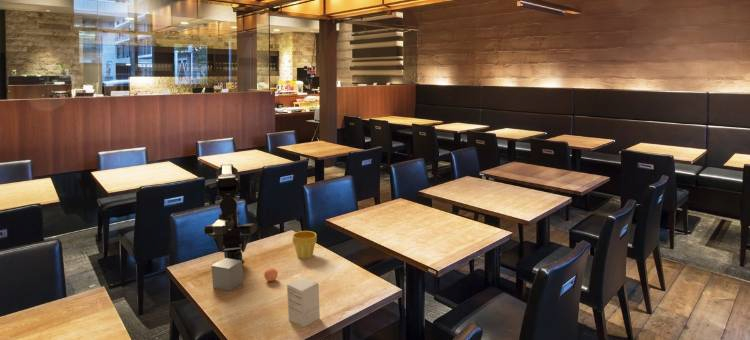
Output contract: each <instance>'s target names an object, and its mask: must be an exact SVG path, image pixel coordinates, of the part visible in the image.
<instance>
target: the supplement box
mask: <svg viewBox="0 0 750 340" xmlns="http://www.w3.org/2000/svg"><path fill="white" fill-rule="evenodd" d="M319 290H320V289H319V282H317V281H315V280H312V279H310V278H307V277H305V276H303V277H301V278H298V279H296V280H294V281H292V282H290V283H287V284H286V291H287V292H286V293H287V294H286V295H287V308H288V309H287V311H288V314H287V315H288V320H289V321H291V322H292V323H293V324H296V325H299V326H300V327H302V328H305V327H307V326H308V325H310V324H312V323H313V322H316V321H317V320H318V319H321V316H320V314H321V313H320V293H319V292H320V291H319Z"/></svg>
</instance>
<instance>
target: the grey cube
mask: <svg viewBox="0 0 750 340" xmlns="http://www.w3.org/2000/svg"><path fill="white" fill-rule="evenodd" d="M243 272H244V271H243V262H242V261H240V260H235V259H229V258H225V257H224V258H222V259H219V261H217V262H215V263H213V264H212V265H211V277H212V279H211V280H212V288H214V289H219V290H223V291H227V292H228V291H229V292H231V291H232V290H234V289H235V288H237V287H239V286H240V285H241V284H243V283H244V275H243V274H244V273H243Z"/></svg>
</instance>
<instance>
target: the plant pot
mask: <svg viewBox="0 0 750 340" xmlns="http://www.w3.org/2000/svg"><path fill="white" fill-rule="evenodd" d="M317 236H318V235H317V233H316V232H314V231H310V230H302V231H301V230H299V231H297V232H294V233H293V234H292V243H293V244H294V248H295V252H296V256H297V259H301V260H306V259H307V258H308V259H310V258H312V257H313V255H314V251H315V245H316V243H317V242H318V241H317V240H318V239H317V238H318V237H317Z"/></svg>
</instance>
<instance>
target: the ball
mask: <svg viewBox="0 0 750 340" xmlns="http://www.w3.org/2000/svg"><path fill="white" fill-rule="evenodd" d="M263 275H264V279H265V280H266V281H268V282H274V281H275V280H276V279H277V277H278V275H279V274H278V271H277V269H276V268H273V267H269V268H267V269H266V270H265V271H264V273H263Z"/></svg>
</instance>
